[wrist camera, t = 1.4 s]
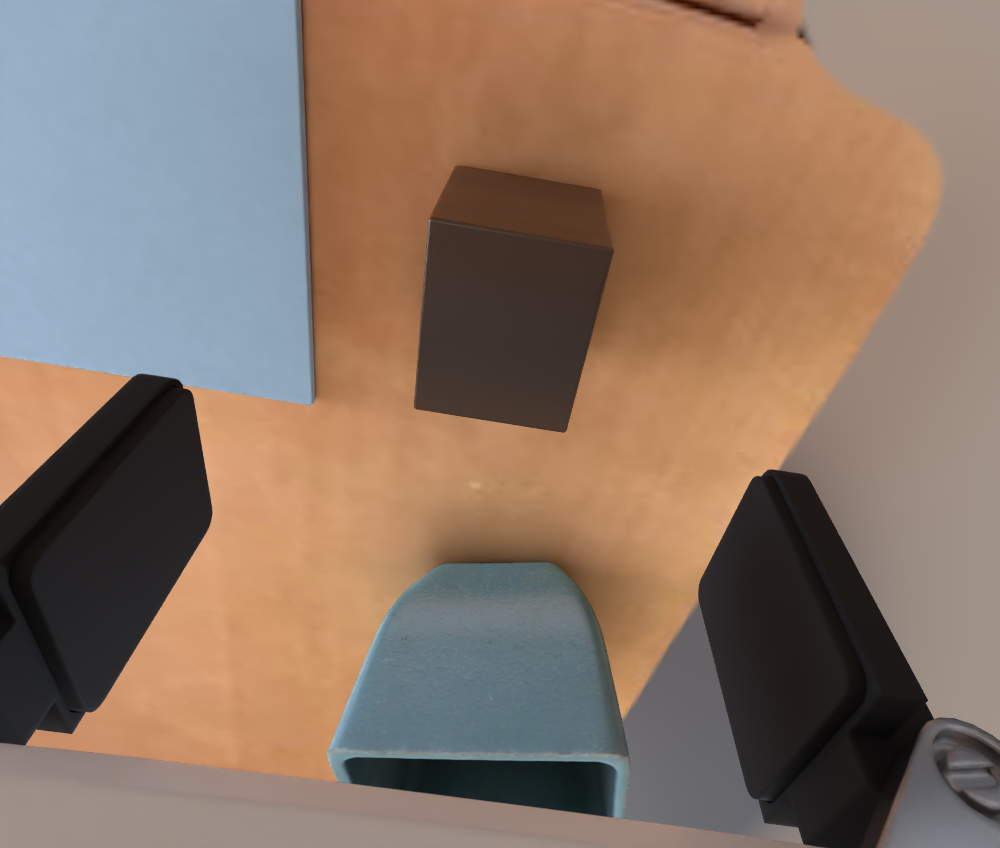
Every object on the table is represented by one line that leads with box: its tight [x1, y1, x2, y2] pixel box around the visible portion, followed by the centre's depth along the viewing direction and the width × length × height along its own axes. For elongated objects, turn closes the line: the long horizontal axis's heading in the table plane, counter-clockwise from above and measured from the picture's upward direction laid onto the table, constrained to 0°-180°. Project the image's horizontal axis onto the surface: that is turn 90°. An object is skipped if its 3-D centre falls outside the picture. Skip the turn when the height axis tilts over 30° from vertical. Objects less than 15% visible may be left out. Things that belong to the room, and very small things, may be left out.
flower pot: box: [327, 562, 631, 819], centre depth 23 cm, size 9×9×9 cm
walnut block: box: [414, 166, 614, 433], centre depth 16 cm, size 5×4×4 cm
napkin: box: [0, 0, 315, 405], centre depth 16 cm, size 16×14×1 cm
